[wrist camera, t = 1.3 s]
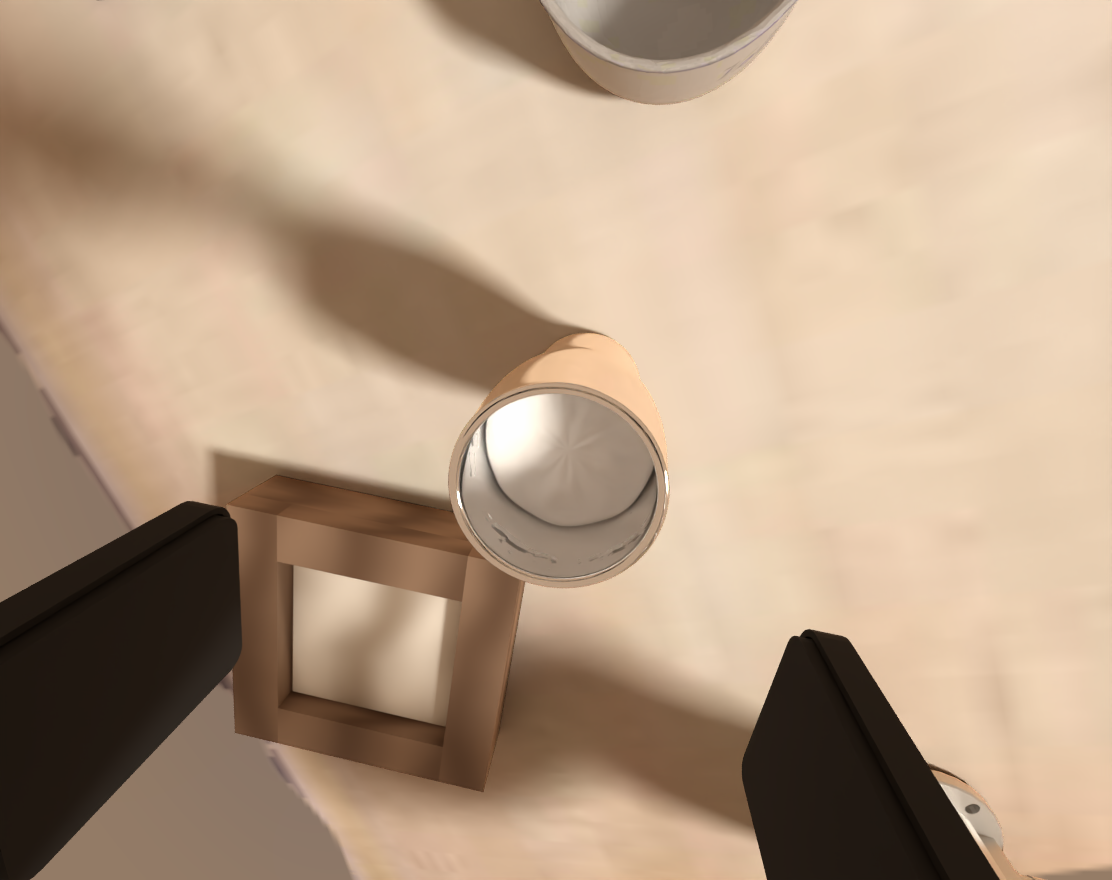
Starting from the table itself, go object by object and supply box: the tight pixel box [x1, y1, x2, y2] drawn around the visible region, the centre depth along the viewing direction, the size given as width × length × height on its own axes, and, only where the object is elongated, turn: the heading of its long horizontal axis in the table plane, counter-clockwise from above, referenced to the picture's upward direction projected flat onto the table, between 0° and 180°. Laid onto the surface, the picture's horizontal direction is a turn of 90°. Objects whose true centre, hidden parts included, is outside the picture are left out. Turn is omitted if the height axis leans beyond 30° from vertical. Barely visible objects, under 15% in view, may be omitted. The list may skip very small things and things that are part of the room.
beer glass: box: [448, 333, 670, 588], centre depth 22 cm, size 7×7×15 cm
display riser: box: [226, 475, 525, 792], centre depth 34 cm, size 17×17×4 cm
